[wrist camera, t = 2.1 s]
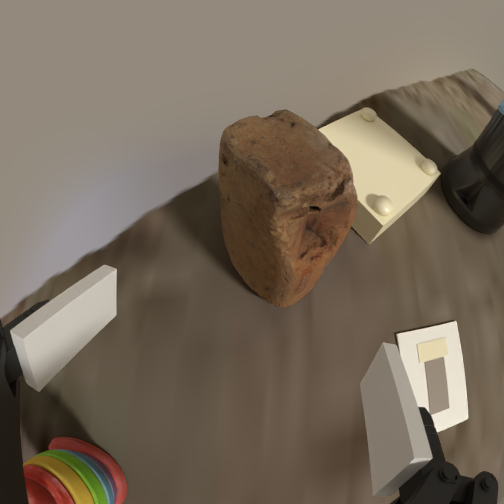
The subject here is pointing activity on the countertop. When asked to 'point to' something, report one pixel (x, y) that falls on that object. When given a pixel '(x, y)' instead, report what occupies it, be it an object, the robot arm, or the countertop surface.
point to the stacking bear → (74, 475)
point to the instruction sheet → (436, 372)
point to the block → (283, 203)
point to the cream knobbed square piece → (380, 170)
